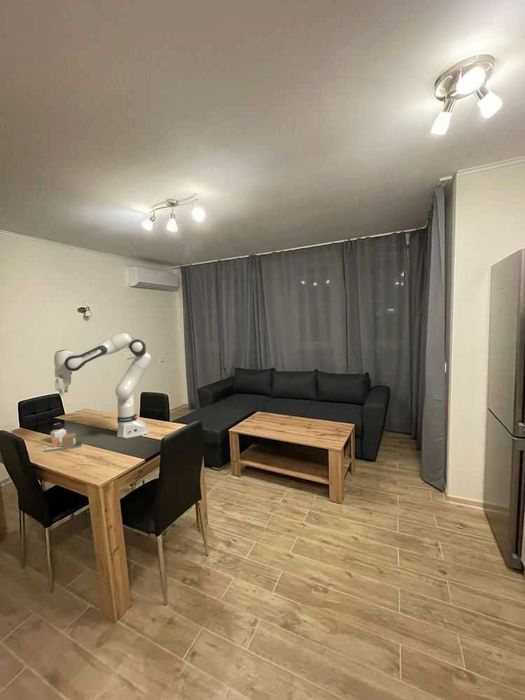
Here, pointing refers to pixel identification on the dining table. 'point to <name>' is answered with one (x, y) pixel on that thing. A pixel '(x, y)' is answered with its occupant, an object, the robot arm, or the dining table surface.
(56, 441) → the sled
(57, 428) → the medicine bottle
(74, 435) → the tunnel board
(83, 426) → the dining table surface
